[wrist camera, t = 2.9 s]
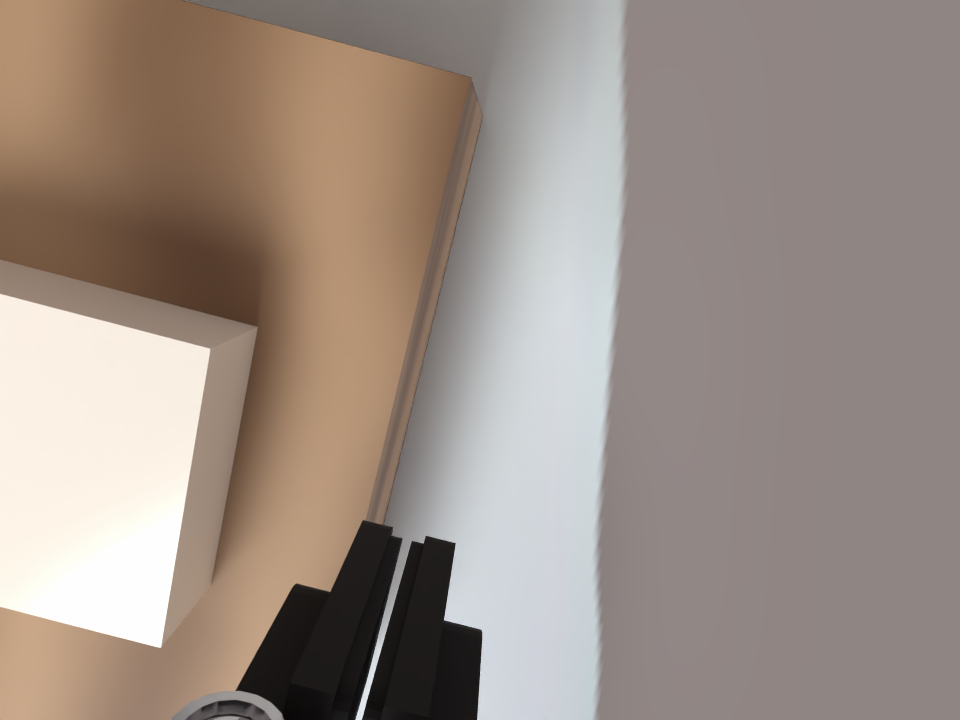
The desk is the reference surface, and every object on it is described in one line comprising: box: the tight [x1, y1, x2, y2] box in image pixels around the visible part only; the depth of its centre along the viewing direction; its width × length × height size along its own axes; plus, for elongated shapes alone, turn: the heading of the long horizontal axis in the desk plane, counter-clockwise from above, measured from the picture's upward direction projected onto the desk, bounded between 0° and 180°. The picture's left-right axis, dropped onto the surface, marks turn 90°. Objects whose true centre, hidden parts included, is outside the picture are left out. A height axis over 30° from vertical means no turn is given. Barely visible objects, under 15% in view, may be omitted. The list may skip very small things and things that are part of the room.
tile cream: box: [0, 260, 258, 648], centre depth 15 cm, size 7×7×2 cm
